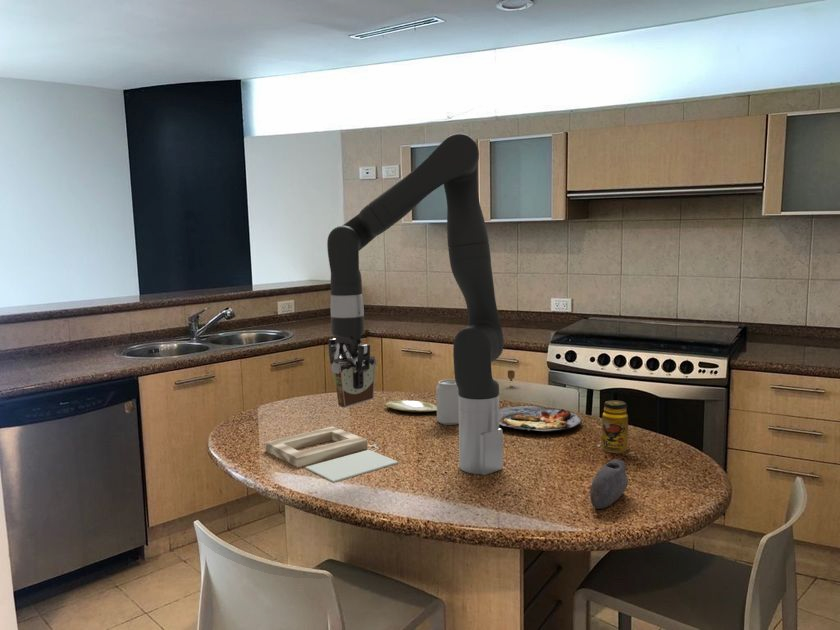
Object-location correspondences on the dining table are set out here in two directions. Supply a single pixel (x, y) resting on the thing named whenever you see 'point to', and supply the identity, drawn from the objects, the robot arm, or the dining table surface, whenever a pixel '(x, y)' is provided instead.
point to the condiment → (615, 427)
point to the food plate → (546, 422)
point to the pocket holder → (288, 446)
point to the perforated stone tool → (608, 484)
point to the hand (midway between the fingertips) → (350, 385)
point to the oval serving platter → (412, 406)
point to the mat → (351, 465)
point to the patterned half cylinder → (346, 384)
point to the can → (447, 402)
